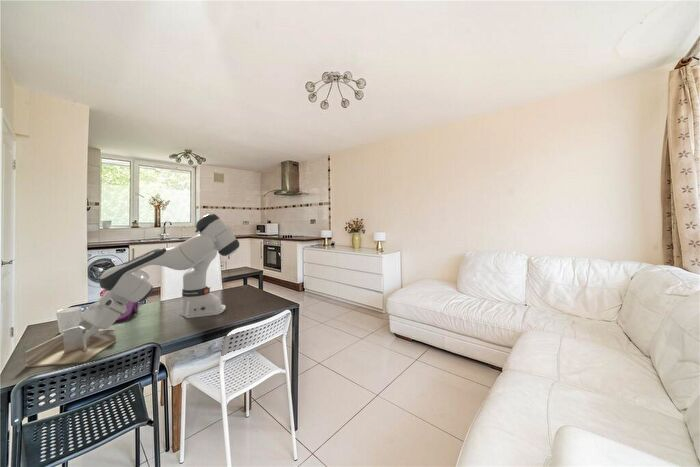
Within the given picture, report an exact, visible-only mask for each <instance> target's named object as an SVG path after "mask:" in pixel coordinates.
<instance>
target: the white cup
mask: <svg viewBox="0 0 700 467" xmlns="http://www.w3.org/2000/svg"><path fill="white" fill-rule="evenodd" d="M82 309H83V308H82V307H81V306H73V307H66V308H63V309H60V310H59V309H58V310H57V311H56V312H55V313H56V319H57V321H56V322H57V326H58V332H59V333H60V334H62V333H63V330H66V329H70V328H74V327H77V326H78V324H79V322H80V321H81V320H82V319H81V318H79V316H80V315H81V313H83V310H82Z"/></svg>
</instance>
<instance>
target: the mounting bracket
mask: <svg viewBox="0 0 700 467" xmlns="http://www.w3.org/2000/svg"><path fill="white" fill-rule="evenodd" d="M126 308H127V310H126V312H125V313H123V314H122V313H121V315H120V317H119V318H118V319H117V320H116V321H115V322H114V323H122V322H125V321H126V320H128V319H130V318H131V316H132V314H136V313H137V312H138V310H139V302H137V303H135V302H131V301H128V303H127V304H126ZM114 323H113V324H114Z"/></svg>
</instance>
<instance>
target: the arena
mask: <svg viewBox="0 0 700 467" xmlns="http://www.w3.org/2000/svg"><path fill="white" fill-rule="evenodd" d="M89 330H90V329H88V330H87V329H86V332H87V331H89ZM115 342H117V328H107V329H105V330H103V329H99V330H98V331H97V332H95V333H93V334H92V335H91V336H90V337H89V338H86V344H87V350H86V351H83V350H81V349H77V350H74V351H71V352H68V353H64V346H63V333H60V334H59V335H56V336H55V337H52V338H51V339H48V340H46V341H44V342H42V343H40V344H38V345H36V346H34V347H32V348H30V349H27V350H26V351H24V352H23V357H24V368H33V367H44V366H46V367H47V366H55V365H56V366H57V365H67V364H78V363H86V362H88V361H89V360H91V359H92V358H93V357H95V356H97V355H98V354H99V353H101V352H102V351H104V350H106V349H107V348H108V347H110V346H111V345H113V344H115Z"/></svg>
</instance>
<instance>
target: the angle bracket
mask: <svg viewBox="0 0 700 467" xmlns="http://www.w3.org/2000/svg"><path fill="white" fill-rule="evenodd" d="M86 331H87V328H85V326H84V327H82V326H78V327H74V328H70V329H66V330H63V346H64V353H68V352H71V351H74V350H77V349H81V350H83V351H86V350H87V344H86V338H84V337H83V336H82V335H83V334H84V333H85V332H86Z"/></svg>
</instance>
